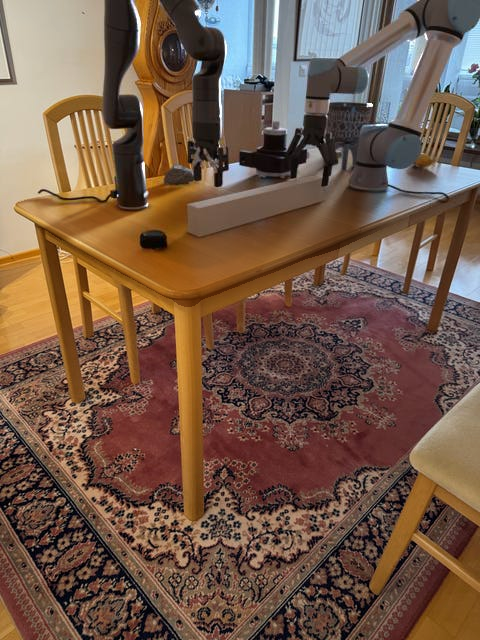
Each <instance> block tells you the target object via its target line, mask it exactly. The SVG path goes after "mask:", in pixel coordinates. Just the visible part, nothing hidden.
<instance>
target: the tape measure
mask: <svg viewBox="0 0 480 640" xmlns="http://www.w3.org/2000/svg"><path fill="white" fill-rule="evenodd" d="M167 236H168V235H167V234H166V232H165V231H164V230H161V229H147V230H144V231H143V232H141V233H140V235H139V240H140V241H139V245H140V246H139V247H141V248H142V249H146V250H157V249H167V248H168V240H167V239H168V237H167Z"/></svg>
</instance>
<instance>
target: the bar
mask: <svg viewBox="0 0 480 640" xmlns="http://www.w3.org/2000/svg"><path fill="white" fill-rule="evenodd" d="M321 184H322V176H319V175H315V174H314V175H308V176H305V177H300V178H294V179H290V180H288V181H287V180H286V181H283V182H278V183H274V184H269V185H265V186H260V187H257V188H256V187H255V188H253V189H247V190H242V191H239V192H234V193H231V194H227V195H222V196H221V195H220V196H217V197H211V198H209V199H205V200H200V201H195V202H192V203H186V211H187V212H186V213H187V232H188V234H191V235H193V236H196V237H198V238H201V237H205V236H208V235H212V234H214V233H218V232H222V231H226V230H229V229H232V228H235V227H239V226H243V225H246V224H249V223H253V222H257V221H259V220H263V219H267V218H270V217H273V216H277V215H280V214H284V213H287V212H291V211H294V210H297V209H301V208H304V207H308V206H311V205H315V204H318V203H321V202H324V194H325V187H321Z"/></svg>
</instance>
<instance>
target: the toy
mask: <svg viewBox="0 0 480 640" xmlns="http://www.w3.org/2000/svg"><path fill="white" fill-rule="evenodd" d="M434 164H435V160H434V159H433V158H430V156H429V155H428V154H427V153H424V152H423V153H422V152H421V154H420V156H419V158H418V159H417V161H416V162H415V163H414V164H413V165H412V166H417V167H418V168H421V169H422V168H423V169H424V168H426V167H430V166H433V165H434Z"/></svg>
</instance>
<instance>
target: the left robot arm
mask: <svg viewBox="0 0 480 640" xmlns="http://www.w3.org/2000/svg"><path fill="white" fill-rule="evenodd" d="M158 2H159V4H160V6H161V7H162V9H163V10H164V12H165V13H166V15H167V17H168V18H169V19H170V21H171V22H172V24H173V25H174V28H175V30H176V33H177V36H178V38H179V41H180V44H181V46H182V48H183V50H184V51H185V53H186V54H187V55H188V56H189V57H190V58H191V59H192V60H193V61H196V62H200V63H201V64H200V67H199V71H198V72H197V73H195V74H194V75H193V76H192V79H191V92H192V93H191V97H192V98H191V99H192V103H191V104H192V105H191V124H192V125H191V127H192V129H191V131H192V140H188V141H187V164H190V165H191V167H192V170H193V174H194V175H193V176H194V180H193V182H201V181H202V179H203V176H202V175H203V174H202V173H203V171H202V169H203V168H202V164H203V162H207V163H208V164H209V166H211V167H212V169H213V172H214V173H213V187H214V188H221V187H223V184H224V181H223V179H224V178H223V177H224V172H228V171H229V170H230V165H229V164H230V161H229V147H228V146H227V145H226V146H221V145H220V141H221V139H222V136H223V135H222V131H223V130H222V129H223V128H222V117H223V116H222V115H223V113H222V103H221V101H222V100H221V80H222V76H223V71H224V68H225V62H226V56H227V44H226V43H227V42H226V39H225V35H224V34H223V32H222V31H221V30H220V29H219V28H217V27H212V26H204V25H202V23H201V22H200V18H201V9H200V7H199V5H198V3H197V2H196V0H158ZM103 4H104V10H103V11H104V12H103V14H104V15H103V47H104V48H103V49H104V71H103V72H104V73H103V86H102V99H101V101H102V102H101V104H102V105H101V112H102V119H103V122H104V124H105V126H106V127H107V128H108V129H109V130H126V132H125V133H124V134H123V136H121V137H120V138H118V139H116V140H114V141H113V142H112V144H111V149H112V159H113V165H114V174H115V176H114V178H113V180H114V188H115V189H110V190H109V194H108V195H107V196H106V197H105V199H103V200H102V199H100V198H99V197H97V196H93V195H85V196H77V197H64V196H61V195H59V194H57V193H54V192H53V191H50V190H48V189H45V188H41V189H40V190H38V192H37V194H38V195H39V194H41V193H42V192H45V193H47V194H50V195H51V196H54V197H56V198H58V199H59V200H62V201H77V200H79V201H80V200H87V199H88V200H89V199H90V200H91V199H92V200H96V201H98V202H99V203H102V204H105V203H107V202H108V201H109V200H110V198H111V199H113V200H114V199H116V204H117V205H116V206H117V207H118V208H119V209H120V210H123V211H131V212H132V211H141V210H144V209H147V208H148V207H149V202H148V195H149V190H147V181H146V169H145V157H144V118H143V117H144V116H143V107H142V103H141V101H140V98H139V97H138V95H136V94H120V91H121V88H122V87H121V86H122V82H123V79H124V77H125V75H126V74H127V72H128V70H129V69H130V67H131V65H132V64H133V63H134V61H135V60H136V57H137V55H138V53H139V50H140V43H141V42H140V41H141V17H140V14H139V11H138V8H137V5H136V3H135V0H104V3H103Z"/></svg>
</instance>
